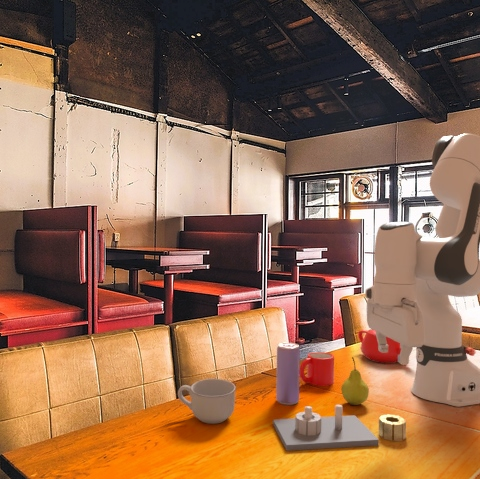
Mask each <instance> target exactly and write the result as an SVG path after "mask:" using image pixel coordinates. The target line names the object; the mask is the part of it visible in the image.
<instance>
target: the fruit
mask: <svg viewBox="0 0 480 479" xmlns="http://www.w3.org/2000/svg"><path fill="white" fill-rule="evenodd" d="M351 359H352V361H353V364H354V367H353V368H354V369H351V370H350V374H349V377H348V378H347V379H345V380H344V382H343V383H342V385H341V387H340V390H341V393H342V397H343V398H344V400H345V401H346V402H347V403H348V404H349V405H351V406H359V405H360V404H363V403H364V402H366V401H367V399H368V397H369V387H368V385H367V383H366V382H365V381H364V380H363V379H362V376H361V372H360V371H359V370H358V369H356V361H355V359H354V356H352V357H351Z"/></svg>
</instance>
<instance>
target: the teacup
mask: <svg viewBox="0 0 480 479" xmlns="http://www.w3.org/2000/svg"><path fill="white" fill-rule="evenodd" d="M236 388H237V387H236V385H235V384H234V383H233V382H232V381H230V380H227V379H222V378H221V379H220V378H205V379H200V380H198V381H196V382H194V383H193V384H191V386H190V385H187V384H183V385H181V386H180V387H179V389H178V390H177V397H178V399H179V400H180V402H181V403H182V404H184V405H186V406H187V407H188V409H189V410H191V411H192V412H191V413H192V414H193V416H194V417H195V418H196V419H198V420H199V421H200V422H202V423H205V424H209V425H210V424H211V425H214V424H220V423H223V422H225V421H226V420H227V419H228V418H230V417H231V415H232V414H234V410H235V403H236V390H237V389H236ZM185 390H186V391H187V392H188V394H189V396H190V401H189V400H188V399H187V398H185V397H184V395H183V391H185Z"/></svg>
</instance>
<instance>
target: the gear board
mask: <svg viewBox="0 0 480 479" xmlns="http://www.w3.org/2000/svg"><path fill="white" fill-rule="evenodd" d="M272 426H273V427H274V429H275V431H276V433H277V435H278V437H279V439H280V441H281V443H282V445H283V446H284V448H285V451H286V452H291V451H306V450H321V449H323V450H325V449H337V448H340V449H341V448H355V447H369V446H370V447H371V446H379V444H380V442H379V440H380V439H379V438H378V437H377V436H376V435H375V434H374V433H373V432H372V431H371V430H370V429H369V428H368V427H367V426H366V425H365V424H364V423H363V422H362V421H361V420H360V419H359V418H358V417H357V416H356V415H343V405H341V404H335V406H334V416H321V415H320V414H319V413H316V412H313V407H312V406H307V405H306V406H304V411H301V412H300V411H299V412H298V413H296V414H295V416H294V418H279V419H277V418H276V419H275V418H274V419H273V420H272Z"/></svg>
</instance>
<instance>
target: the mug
mask: <svg viewBox="0 0 480 479" xmlns="http://www.w3.org/2000/svg"><path fill="white" fill-rule="evenodd" d="M306 357H307V358H305V359H304V360H303V361H302V362H301V364H300V365H299V379H300V380H301V381H302V382H304V383H309V384H310V385H313V386H320V387H321V386H323V387H324V386H326V387H327V386H331V385H333V384H334V383H335V380H334V379H335V355H334V354H332V353H330V352H325V351H323V352H322V351H314V352H309V353H307V356H306ZM306 367H307V368H306ZM305 369H307V370H306V375H305Z"/></svg>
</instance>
